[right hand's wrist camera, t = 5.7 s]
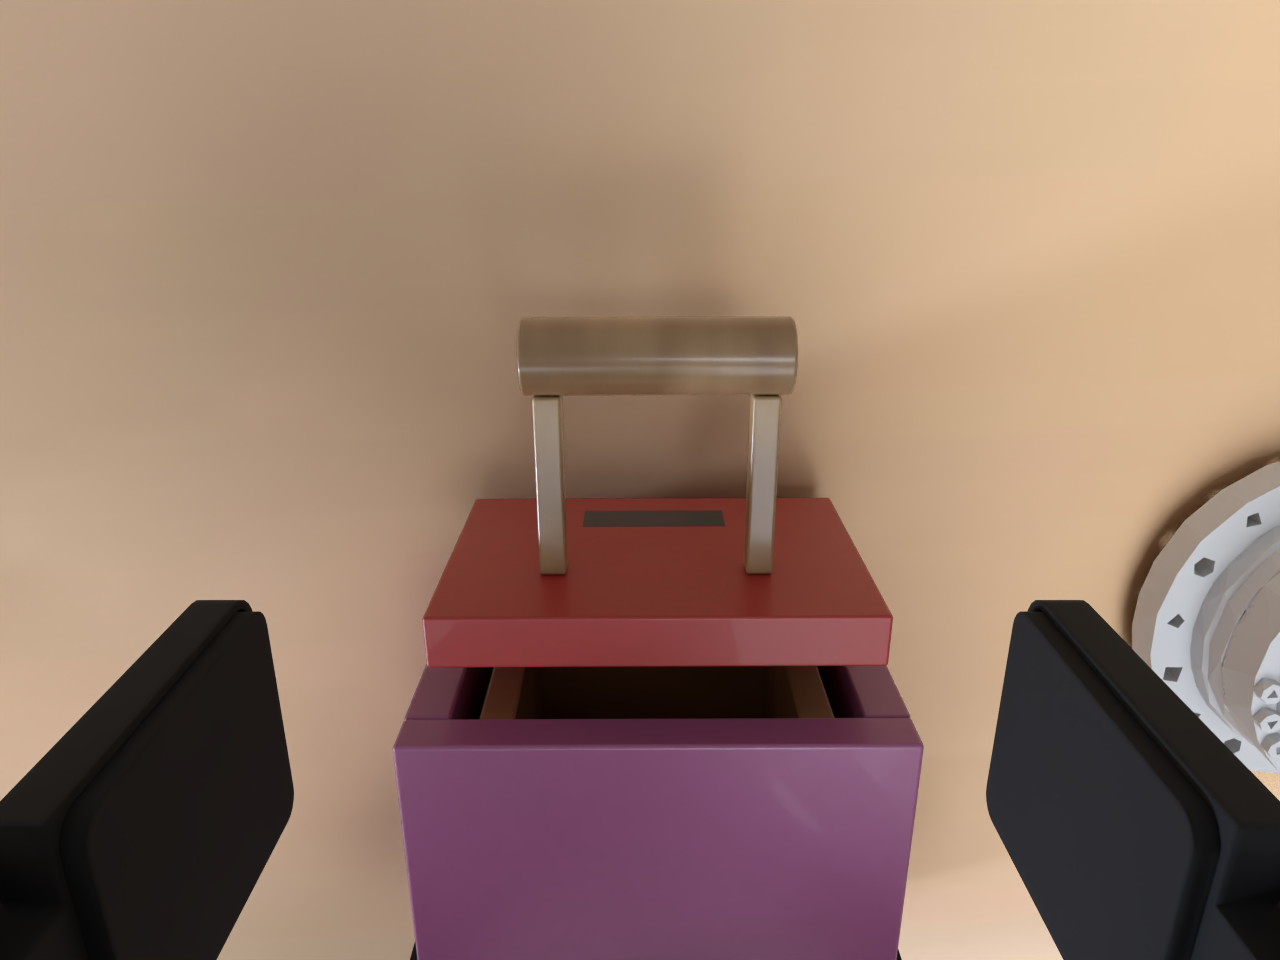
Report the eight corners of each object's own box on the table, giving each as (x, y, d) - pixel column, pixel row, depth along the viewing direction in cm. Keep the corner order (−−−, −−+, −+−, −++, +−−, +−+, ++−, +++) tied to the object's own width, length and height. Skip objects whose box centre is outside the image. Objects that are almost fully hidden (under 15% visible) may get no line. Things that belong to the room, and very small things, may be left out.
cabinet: (466, 562, 26) (390, 747, 18) (837, 560, 26) (925, 745, 18) (493, 909, 31) (442, 1180, 23) (809, 908, 31) (869, 1177, 23)
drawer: (460, 285, 23) (394, 340, 16) (845, 284, 23) (923, 338, 17) (500, 844, 29) (462, 1037, 23) (803, 843, 29) (849, 1035, 23)
